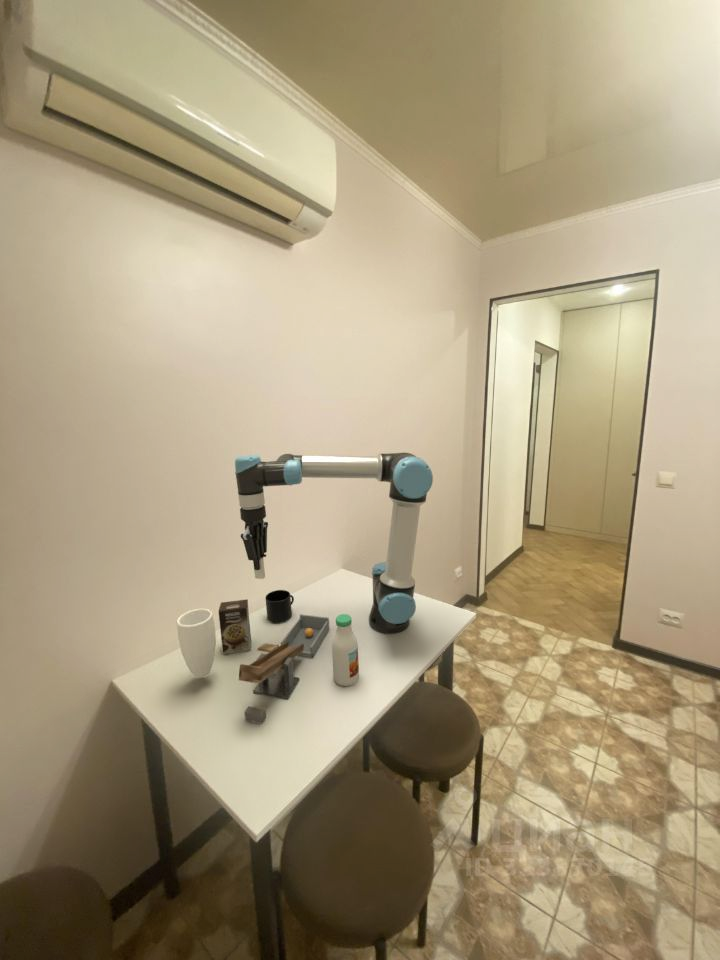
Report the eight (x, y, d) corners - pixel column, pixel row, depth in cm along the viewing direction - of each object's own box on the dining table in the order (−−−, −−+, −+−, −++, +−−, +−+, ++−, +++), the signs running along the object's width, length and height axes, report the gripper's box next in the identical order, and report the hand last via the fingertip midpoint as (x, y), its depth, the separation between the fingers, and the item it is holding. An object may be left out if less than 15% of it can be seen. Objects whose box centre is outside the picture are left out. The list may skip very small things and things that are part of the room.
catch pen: (329, 630, 141) (328, 617, 140) (312, 658, 126) (311, 644, 125) (301, 626, 144) (300, 614, 143) (281, 653, 129) (280, 640, 128)
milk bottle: (341, 690, 111) (338, 628, 107) (329, 675, 118) (325, 616, 114) (364, 680, 115) (361, 619, 111) (350, 665, 122) (348, 608, 118)
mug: (301, 613, 153) (300, 592, 151) (276, 626, 145) (275, 604, 143) (287, 605, 159) (285, 585, 158) (262, 617, 151) (260, 596, 149)
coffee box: (222, 655, 129) (217, 611, 126) (225, 644, 135) (220, 601, 132) (250, 651, 131) (246, 607, 127) (251, 640, 137) (247, 598, 134)
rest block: (266, 717, 103) (265, 709, 102) (262, 723, 101) (261, 715, 100) (249, 714, 104) (248, 706, 103) (245, 720, 102) (244, 711, 102)
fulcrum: (299, 680, 116) (297, 652, 114) (288, 699, 109) (285, 670, 107) (266, 674, 119) (264, 647, 117) (253, 693, 111) (250, 665, 110)
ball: (312, 639, 136) (315, 631, 139) (310, 634, 135) (313, 626, 137) (304, 638, 137) (307, 630, 140) (302, 633, 136) (305, 625, 138)
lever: (303, 654, 125) (304, 638, 125) (259, 688, 98) (261, 668, 98) (265, 648, 128) (266, 633, 129) (213, 679, 101) (214, 660, 102)
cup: (185, 675, 120) (176, 612, 116) (220, 666, 124) (213, 604, 119) (183, 698, 110) (173, 630, 106) (222, 687, 114) (214, 621, 110)
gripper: (252, 500, 125) (259, 568, 130) (229, 511, 113) (238, 586, 118) (273, 500, 123) (280, 569, 128) (252, 512, 111) (260, 588, 116)
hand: (260, 577), depth 123 cm, fingers closed
